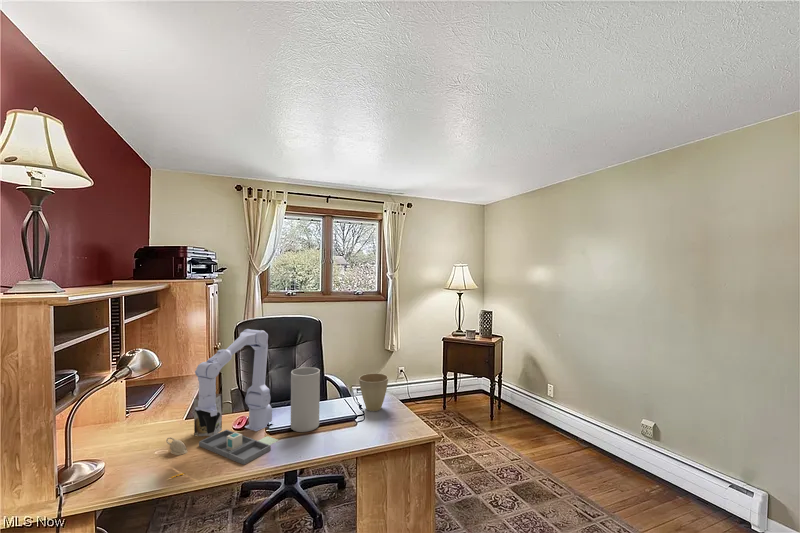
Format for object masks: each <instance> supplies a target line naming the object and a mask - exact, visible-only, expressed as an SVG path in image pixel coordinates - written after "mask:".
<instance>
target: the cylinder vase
mask: <svg viewBox="0 0 800 533" xmlns="http://www.w3.org/2000/svg"><path fill="white" fill-rule="evenodd" d="M320 371H321V369H319V368H317V367H308V366H307V367H299V368H295V369H292V370H291V372H290V429H291V430H293V432H296V433H307V432H312V431H314V430H316V429H317V428H318V427H319V426H320V400H321V399H320V398H321V397H320V388H321V387H320V381H321V374H320V373H321V372H320Z"/></svg>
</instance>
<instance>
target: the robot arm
mask: <svg viewBox="0 0 800 533" xmlns="http://www.w3.org/2000/svg"><path fill="white" fill-rule="evenodd" d="M268 340H269V334H268V332H266V331H265V330H262V329H260V330H259V329H250V328H245V329H244V330H242V331H241V332H240V333H239V336H238V338H236V339H235V340H234V341H233V342H232V343H231V344H230V345H229V346H228V347H226V349H224V348H222V349H218V350H217V351H216V353H215V354H214V355H212V356H211V357H209V358H208V359H207V360H206V361H202V362H200V363H199V364H198V365H197V366H196V370H194V373H195V376H196V377H197V381H198V396H199V401H198V407H196V408H195V412H196V413H197V415H198V419H199V423H200V426H201V427H204V426H206V429H207V433H208V434H209V433H212V432H214V430H215V426H216V422H217V420H218V418H219V416H220V413H219V412H218V413H217V410H216V394H217V393H216V390H217V389H216V388H217V387H216V386H217V383H216V382H217V377H218V375H220V372H221V370H222V368H223V367H224V366H226V365H227V364H228V363H229V362H230V361H231V360H232V357H233V355H234V354H237V353H238V352H239V351H240V350H241V349H243V348H244V347H245V346H250V347H251V348H252V349H253V350H254V356H253V357H254V358H253V370H252V380H251V381H252V383H251V386H249V387H248V388H247V389H246V390H247V391H246V394H245V398H244V403H245V404H246V405H247V408H248V414H249V415H248V422H249V423H248V424H247V425H245V426H244V428H245V429H247V430H250V431H254V432H258V431H260V430H262V429H265V428H268V426H267V424H268V423H269V422H271V421H272V422H273V408H272V406H271V404H270V403H271V394H270V393H271V392H270V388H269V387H268V386H267V385H266V375H267V363H268V362H267V361H268V351H269V350H268V349H269V344H268Z"/></svg>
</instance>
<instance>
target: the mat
mask: <svg viewBox="0 0 800 533" xmlns="http://www.w3.org/2000/svg"><path fill="white" fill-rule="evenodd" d="M279 440H280V439H278V438H275V437H271V436H269V435H267V436H265V437H262V438H261V439H259V440H257V441H260V442H263V443H265V444H268V445H271V446H272V445H273V444H275V443H277V442H278V441H279Z"/></svg>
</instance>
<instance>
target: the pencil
mask: <svg viewBox="0 0 800 533" xmlns="http://www.w3.org/2000/svg"><path fill="white" fill-rule="evenodd" d="M183 474H185V475H186V473H184V472H182V473H180V474H176V475H173V476H171V477H169V478H173V477H176V476H179V475H182V476H184V475H183ZM179 477H180V476H179ZM176 478H177V477H176ZM173 479H174V478H173Z"/></svg>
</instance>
